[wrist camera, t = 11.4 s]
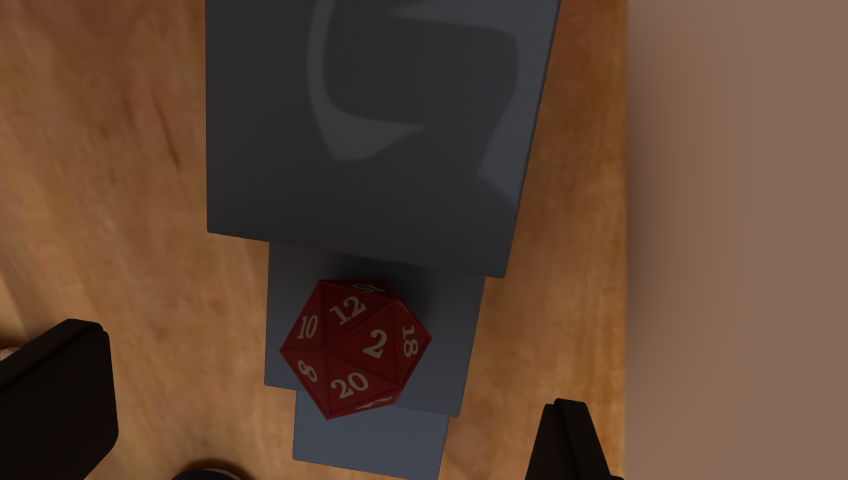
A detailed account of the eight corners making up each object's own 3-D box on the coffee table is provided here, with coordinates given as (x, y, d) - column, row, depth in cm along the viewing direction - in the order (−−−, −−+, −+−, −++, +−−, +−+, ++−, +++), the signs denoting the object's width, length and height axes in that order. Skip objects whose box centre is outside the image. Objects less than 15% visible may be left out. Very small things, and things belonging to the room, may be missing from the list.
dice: (354, 386, 17) (322, 473, 13) (287, 278, 16) (232, 340, 12) (452, 346, 16) (447, 427, 13) (388, 230, 15) (362, 280, 12)
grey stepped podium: (342, -15, 20) (202, -120, 9) (517, 9, 19) (576, -71, 9) (310, 419, 26) (208, 641, 16) (440, 440, 26) (423, 681, 16)
